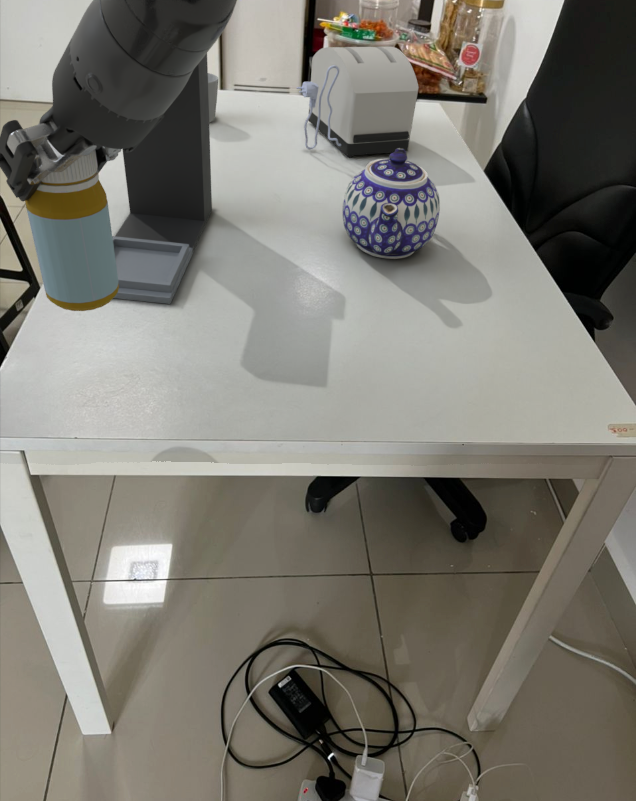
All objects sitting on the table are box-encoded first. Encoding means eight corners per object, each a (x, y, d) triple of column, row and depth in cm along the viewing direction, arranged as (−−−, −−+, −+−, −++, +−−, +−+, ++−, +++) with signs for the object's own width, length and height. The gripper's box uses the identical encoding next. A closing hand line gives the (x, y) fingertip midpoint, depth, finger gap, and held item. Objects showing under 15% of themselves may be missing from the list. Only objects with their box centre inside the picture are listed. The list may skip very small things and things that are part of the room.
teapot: (353, 205, 114) (363, 118, 104) (436, 219, 112) (455, 132, 103) (324, 273, 95) (333, 176, 86) (423, 291, 94) (445, 194, 84)
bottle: (66, 322, 61) (33, 165, 51) (34, 289, 65) (-1, 137, 55) (132, 299, 65) (114, 150, 55) (99, 270, 68) (76, 125, 59)
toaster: (412, 156, 134) (429, 65, 123) (301, 165, 126) (308, 68, 114) (364, 118, 150) (375, 34, 138) (262, 124, 141) (264, 35, 130)
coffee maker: (170, 304, 86) (153, 104, 69) (81, 294, 86) (43, 92, 69) (212, 210, 108) (206, 41, 91) (140, 202, 108) (122, 32, 91)
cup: (220, 114, 144) (220, 73, 138) (216, 130, 136) (215, 87, 130) (186, 112, 143) (184, 70, 137) (180, 127, 136) (177, 84, 130)
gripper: (171, 7, 49) (93, 125, 62) (1, 30, 40) (-50, 162, 53) (223, 98, 51) (136, 195, 63) (69, 140, 42) (4, 243, 54)
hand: (52, 180), depth 58 cm, fingers closed on bottle, 6 cm apart
